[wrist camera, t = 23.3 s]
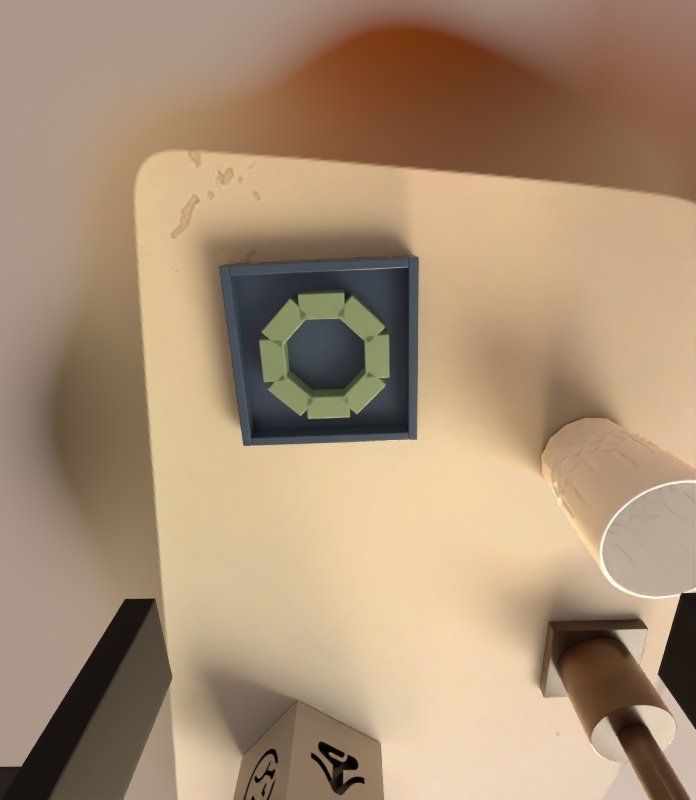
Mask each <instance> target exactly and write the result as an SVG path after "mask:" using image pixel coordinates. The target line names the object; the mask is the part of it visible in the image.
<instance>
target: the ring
mask: <svg viewBox="0 0 696 800" xmlns="http://www.w3.org/2000/svg"><path fill="white" fill-rule="evenodd" d="M336 318H340V319H341V320H342V321H343V322H344V323H345V324H346V325H347V326H348V327H349V328H351V329H352V330H353V331H354V332H355V333H356V334H357V335H358V336H359V337H360V338H362V339H363V340H364V361H365V367H364V368H363V369H362V370H361V371H360V372H359V373H358V374H357V375H356V376H355V378H354V379H353V380H352V381H351V382H350V383H349V384H348V385H347V386H346V387H345V388H344V389H323V390H313V389H311V388H310V387H309V386H308V385H307V384H306V383H304V382H303V381H302V380H301V379H300V378H299V377H297V376H296V375H295V374H294V373H293V372H291V371H290V368H289V357H288V347H287V340H288V339H289V338H290V337H291V336H292V334H293V333H294V332H295V331H296V330H297V329H298V328H299V327H300V325H301V324H302V323H303V322H304V321H305V320H313V319H336ZM384 328H385V325H384V322H383V321H382V320H381V319H380V318H379V317H378V316H377V315H376V314H375V313H374V312H373V311H371V310H370V309H369V308H368V307H367V306H366V305H365V304H364V303H363V302H362V301H361V300H360V299H359V298H358V297H357V296H355V295H354V294H353V293H351V294H350V295H349V297H348V298H347V299H346V300H345V290H322V291H301V292H300V293H299V294H298V299H297V298H296V297H294V296H292V297H291V298H290V299H289V300H288V301H287V302H286V303H285V304H284V306H283V307H282V308H281V309H280V310H279V311H278V313H277V314H276V315H275V316H274V317H273V318H272V320H271V321H270V322H269V323H268V324H267V325H266V327H265V328H264V329H263V330H262V333H263V334H264V335H263V336H262V337H261V338H260V339H259V347H260V356H261V365H262V373H263V381H264V382H271V384H270V386H269V388H268V390H269V391H270V392H271V393H273V394H274V395H275V396H276V397H277V398H279V399H280V400H281V401H282V402H284V403H285V404H286V405H287V406H288V407H290V408H291V409H292V410H293V411H294V412H296V413H297V414H298V415H299V416H301V415H302V414H303V413H304V412H305V411H306V410H307V417H308V419H316V418H343V417H350V409H351V410H353V411H354V412H355V413H356V414H357V413H359V412H360V411H361V410H362V409H363V408H364V407H365V406H366V405H367V404H368V403H369V402H370V401H371V400H372V399H373V398H374V397H375V396H376V395H377V394H378V393H379V392H380V391H381V390H382V389H383V388H384V387H385V386H386V382H385V378H388V377H390V372H389V334H388V331H387V330H383V329H384Z"/></svg>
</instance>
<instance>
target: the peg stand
mask: <svg viewBox="0 0 696 800" xmlns="http://www.w3.org/2000/svg"><path fill="white" fill-rule="evenodd" d="M647 631H648V628H647V626H646V625H645V624H644V622H643V621H642V620H606V621H567V622H549V626H548V634H547V641H546V648H545V655H544V662H543V669H542V676H541V684H540V689H541V691H542V694H543V696H544V697H569V698H570V700H571V703H572V705H573V707H574V709H575V711H576V713H577V715H578V718H579V720H580V722H581V724H582V726H583V728H584V731H585V733H586V735H587V737H588V739H589V741H590V743H591V746H592V747H593V749H594V750H595V752H596V753H598V754H599V755H600V756H602V757H603V758H605V759H608V760H611V761H616V762H630V763H631V765H632V767H633V769H634V771H635V773H636V775H637V777H638V779H639V781H640V783H641V784H642V786H643V788H644V790H645V792H646V794H647V796H648V798H649V800H691V799H690V797H689V795H688V794H687V792H686V791H685V789H684V787H683V785H682V784H681V782H680V780H679V779H678V777H677V775H676V774H675V772H674V770H673V768H672V767H671V765H670V763H669V762H668V760H667V758H666V757H665V755H664V753H663V752H662V751H663V750H664V749H665V748H667V746H668V745H670V743H671V742H672V741H673V739H674V737H675V735H676V731H677V725H676V721H675V719H674V717H673V715H672V714H671V713H670V711H669V709H668V708H667V706H666V705H665V703H664V702H663V700H662V699H661V697H660V696H659V694H658V693H657V691H656V690H655V688H654V687H653V685H652V684H651V682H650V681H649V679H648V678H647V676H646V675H645V673H644V672H643V670H642V669H641V667H640V666H639V665H640V661H641V657H642V652H643V648H644V644H645V640H646V636H647Z"/></svg>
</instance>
